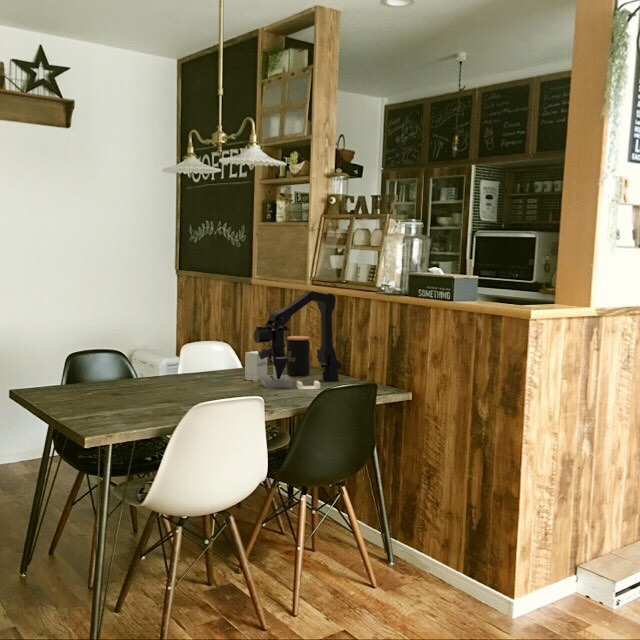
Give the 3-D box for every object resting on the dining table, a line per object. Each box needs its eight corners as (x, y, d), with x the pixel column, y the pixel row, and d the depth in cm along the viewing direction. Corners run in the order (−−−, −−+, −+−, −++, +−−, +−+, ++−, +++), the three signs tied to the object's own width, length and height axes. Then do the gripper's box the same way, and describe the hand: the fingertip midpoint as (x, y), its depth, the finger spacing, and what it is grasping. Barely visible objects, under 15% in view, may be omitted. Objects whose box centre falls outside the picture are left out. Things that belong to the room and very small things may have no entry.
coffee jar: (284, 373, 350) (284, 336, 348) (305, 372, 353) (306, 335, 351) (290, 377, 339) (290, 338, 338) (312, 376, 343) (312, 338, 341)
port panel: (287, 382, 324) (287, 374, 324) (293, 388, 308) (293, 379, 308) (260, 383, 322) (260, 374, 321) (265, 389, 306) (265, 380, 306)
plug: (281, 380, 313) (281, 361, 313) (282, 382, 310) (282, 362, 309) (273, 381, 313) (273, 361, 312) (274, 382, 309) (274, 363, 309)
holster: (317, 387, 312) (317, 380, 312) (320, 390, 305) (320, 383, 305) (296, 388, 310) (296, 381, 310) (299, 391, 303) (299, 383, 303)
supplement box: (256, 381, 326) (256, 353, 325) (244, 379, 331) (244, 352, 330) (267, 379, 332) (267, 351, 331) (255, 377, 337) (255, 350, 336)
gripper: (256, 339, 318) (256, 375, 319) (261, 344, 299) (261, 382, 301) (282, 339, 320) (282, 374, 321) (288, 343, 301) (288, 381, 303)
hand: (278, 378), depth 311 cm, fingers closed on plug, 3 cm apart
